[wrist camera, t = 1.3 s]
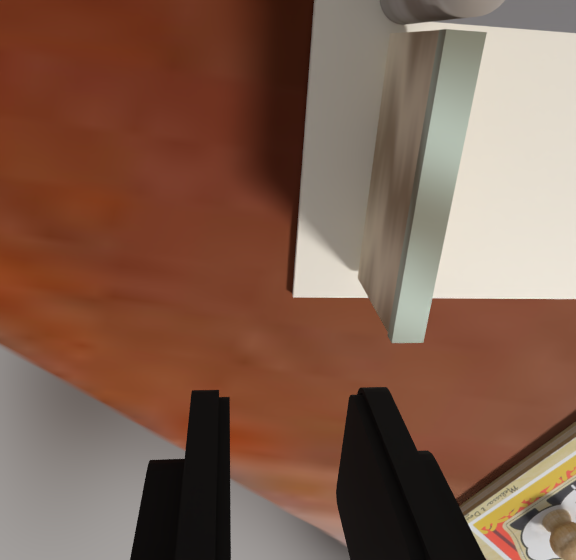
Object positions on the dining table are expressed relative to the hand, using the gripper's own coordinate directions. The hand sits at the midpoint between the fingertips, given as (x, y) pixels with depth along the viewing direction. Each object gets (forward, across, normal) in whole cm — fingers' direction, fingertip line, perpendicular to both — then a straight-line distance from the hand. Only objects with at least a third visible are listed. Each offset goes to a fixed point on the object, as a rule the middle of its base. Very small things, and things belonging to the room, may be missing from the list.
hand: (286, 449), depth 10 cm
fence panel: (+16, -7, -2) cm, 18 cm away
